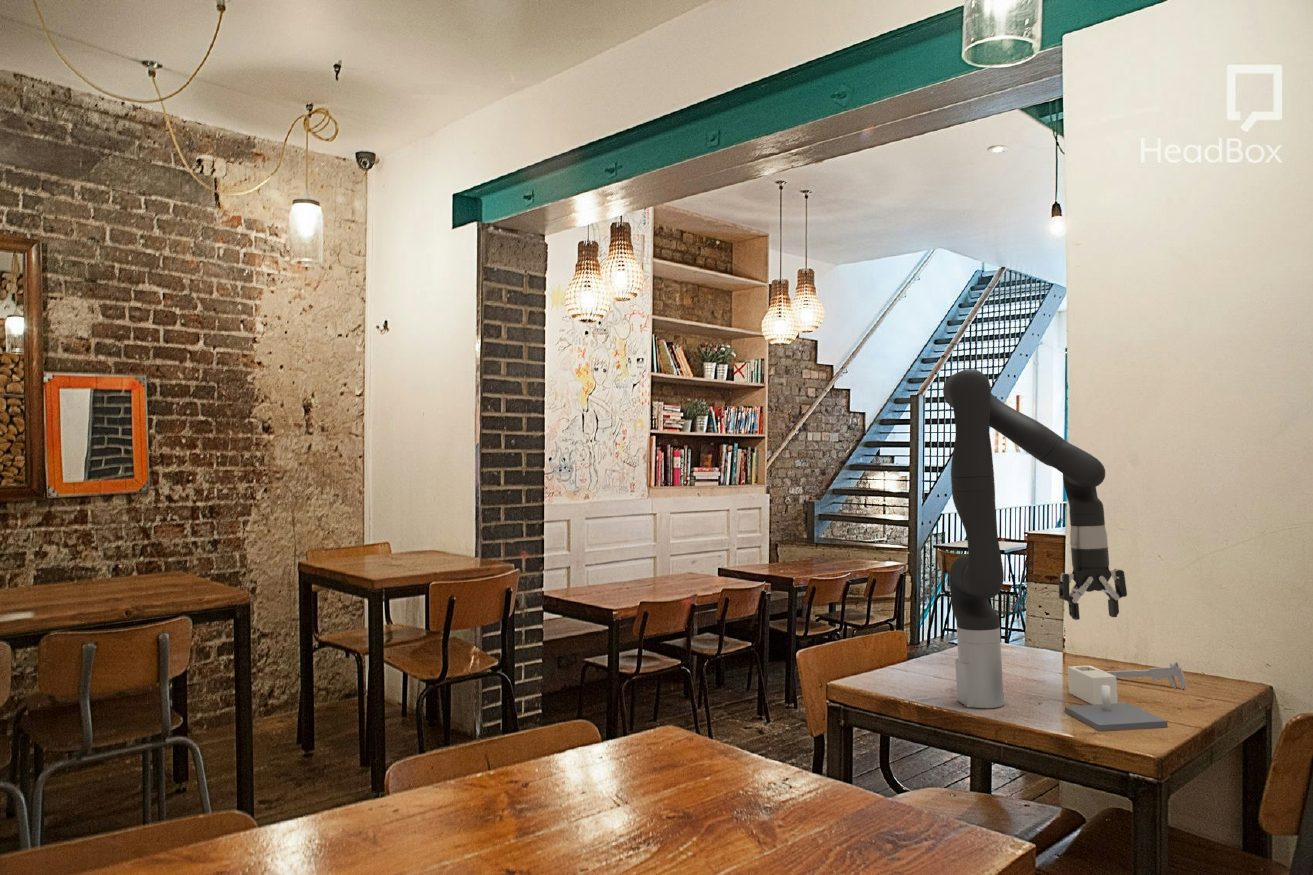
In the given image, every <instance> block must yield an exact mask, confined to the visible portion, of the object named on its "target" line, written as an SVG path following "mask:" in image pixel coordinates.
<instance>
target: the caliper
mask: <svg viewBox="0 0 1313 875" xmlns="http://www.w3.org/2000/svg"><path fill="white" fill-rule="evenodd" d="M1169 665H1170V666H1163V667H1162V666H1160V667H1159V666H1158V667H1151V668H1149V669H1137V670H1134V669H1130V670H1109V671H1108V670H1107V671H1105V670H1103V671H1104V672H1107V673H1109V674H1111V675H1114V676H1116V677H1117V678H1116V679H1118V678H1120V679H1121V678H1143V677H1144V678H1148V677H1151V680H1153V681H1155V680H1159V681H1160V680H1162V679H1165V678H1166V679H1167V681H1168V683H1169V685H1170V686H1171V688H1172V687H1177V688H1178V686H1177V683H1176V679H1175V676H1176V677H1177V681H1178V683H1179V686H1180V689H1181V690H1184V689H1186V678H1185V673H1184V670H1183V668H1182V666H1179V663H1178V662H1177V661H1176V662H1174V663H1173V661H1172V662H1170V663H1169Z"/></svg>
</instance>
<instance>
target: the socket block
mask: <svg viewBox="0 0 1313 875" xmlns="http://www.w3.org/2000/svg"><path fill="white" fill-rule="evenodd" d="M1104 671H1105V670H1102V669H1099V668H1097V667H1095V666H1092V665H1077V666H1076V665H1074V666H1067V677H1068V678H1067V679H1068V682H1067V683H1068V694H1070V695H1072V694H1073V695H1072V696H1075V697H1076V698H1078V699H1081V700H1083V701H1085V702H1086V703H1089V705H1097V704H1102V687H1101V686H1102V685H1108V686H1110V697H1111V704H1114V703H1119V700H1118V684H1117V683H1118V682H1117V679H1118V678H1116V676H1114V675H1111V674H1109V673H1107V672H1104Z"/></svg>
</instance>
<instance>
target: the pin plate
mask: <svg viewBox="0 0 1313 875" xmlns="http://www.w3.org/2000/svg"><path fill="white" fill-rule="evenodd" d="M1101 687H1102V704H1097V705H1092V704H1085V705H1084V704H1083V705H1068V706H1067V705H1065V706H1064V713H1066V714H1068V715H1069V716H1072V717H1073V718H1075V719H1076V720H1078V721H1080V722H1082V723H1084V724H1086V725H1087V726H1090V727H1091V728H1093V729H1095V730H1097V731H1098V732H1107V731H1109V732H1110V731H1125V730H1140V729H1141V730H1143V729H1157V728H1168V720H1166V719H1163V718H1162V717H1160V716H1157V715H1155V714H1153V713H1151V712H1149V711H1147V710H1144V709H1142V708H1140V707H1139V706H1136V705H1133V704H1132V703H1129V702H1118V703H1114V704H1111V697H1110V686H1108V685H1102V686H1101Z"/></svg>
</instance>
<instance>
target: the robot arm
mask: <svg viewBox="0 0 1313 875" xmlns="http://www.w3.org/2000/svg"><path fill="white" fill-rule="evenodd" d="M942 393H943V397H944V400H945V402H946V403H947V405H949V407H951V408H953V415H954V418H953V419H954V424H955V425H954V426H955V436H954V438H955V439H954V445H953V449H952V456H951V465H950V466H951V467H950V477H951V478H950V484H951V495H952V496H951V497H952V500H953V504H954V507H955V510H956V512H957V514H958V517H959V519H960V521H961V524H962V525H963V529H964V531H965V535H966V539H967V540H966V542H967V554H962V555H960V556H958V557H956V558H955V559H954V561H953V562H952V563H951V565H950V570H949V574H948V575H949V578H948V580H949V593H950V601H951V602H950V603H951V610H952V614H953V616H954V618H955V622H956V638H957V639H956V640H957V653H958V654H957V657H958V658H955V659H954V660H955V661H954V662H955V675H956V676H955V677H956V678H955V680H956V694H957V695H956V697H957V702H959V703H960V704H962V705H963V704H964V706H965V707H966V708H977V709H993V708H1001V707H1002V706H1004V705H1005V698H1004V697H1005V693H1004V680H1003V679H1004V677H1003V664H1002V663H1003V660H1002V659H1003V658H1002V646H1001V645H1002V644H1001V643H1002V642H1001V624H1000V616H999V614H998V613H997V612H996V610H994V609H993V607H992V606H991V604H990V601H989V600H990V599H993V598H995V597H996V596H997V595H998V594H999V593H1000V591H1001V590H1002V588H1003V584H1004V581H1005V580H1004V579H1005V578H1004V576H1005V575H1004V574H1005V573H1004V567H1003V560H1002V554H1001V548H1000V542H999V536H998V522H997V509H996V489H995V488H996V486H995V472H994V463H993V449H992V443H991V442H992V441H991V435H990V432H991V431H990V428H991V429H993V430H995V431H997V432H998V433H999V434H1001V435H1002V436H1004V437H1005V438H1007V439H1008V440H1009V441H1011V442H1012V443H1014V444H1015V445H1017V447H1019V448H1020V449H1022V450H1023V451H1024V452H1026V453H1027V454H1029V455H1030V456H1032V457H1033V458H1035V459H1036V460H1037V461H1039V462H1041V463H1042V464H1044V465H1046V466H1048V467H1051V468H1054V469H1055V470H1057V471H1059V472H1060V473H1061V474H1062V481H1063V486H1064V489H1065V490H1064V491H1065V495H1066V498H1067V502H1068V506H1069V524H1070V532H1069V534H1070V535H1069V539H1070V541H1069V543H1070V544H1069V545H1070V553H1071V566H1072V572H1071V573H1064V572H1059V574H1058V598H1059V599H1060V600H1063V601H1065V602H1067V603H1068V615H1069V616H1070V617H1071V618H1072V620H1075V621H1078V620H1081V617H1080V608H1079V606H1080V605H1079V602H1078V601H1079V600H1080V599H1081V597H1082V596H1084V594H1085V593H1086V592H1087V593H1088V592H1089V593H1090V592H1095V591H1097V592H1104V594H1105V595H1106V596H1107V597H1108V598H1109V599H1107V607H1108V609H1107V610H1108V615H1109V617H1111V618H1117V617H1118V615H1119V614H1120V607H1119V600H1120V599H1121V598H1126V597H1127V596H1128V591H1127V584H1126V577H1125V571H1124V570H1122V569H1120V568H1119V569H1117V568H1114V569H1113V570H1110V568H1109V566H1110V557H1109V545H1108V543H1109V542H1108V533H1107V529H1106V521H1105V510H1104V509H1105V508H1104V504H1103V502H1102V501H1101V500H1100V498H1099V497H1098V492H1097V487H1099V486H1100V485H1101V484H1102V483H1103V482H1104V481H1105V478H1106V469H1105V467H1104V466H1105V465H1104V464H1103V463H1102V462H1101V461H1100V460H1099V459H1098V458H1096V457H1095V456H1093V455H1092V454H1091V453H1089V452H1087V451H1085V450H1083V449H1081V448H1079V447H1078V446H1076V445H1074V444H1072V443H1070V442H1068V440H1066V439H1064V438H1063V437H1061V435H1059V434H1057V433H1056V432H1055V431H1053V430H1051V429H1050V428H1049V427H1047V426H1045V425H1044V424H1043V423H1041V422H1039V421H1038V420H1037V419H1034V418H1032V417H1031V416H1028V415H1026V414H1025V413H1023V412H1020V411H1018V410H1017V409H1015V408H1013V407H1011V406H1009V405H1007V403H1005V402H1003V401H1001V400H1000V399H998V397H996V396H995V395H994V394H993V393H992V386H991V383H990V380H989V379H988V377H987V376H986V374H984V372H982V371H980V370H978V369H975V368H968V369H967V368H966V369H963V370H960V371H958V372H955V373H953V374H952V375H950V376H949V377H948V378H947V379H946V380H945V382H944V384H943V386H942ZM1111 578H1112V580H1113V582H1114V588H1113V586H1112V585H1111V584H1110V583H1109V581H1110V579H1111ZM1072 580H1073V581H1074V584H1073V586H1072V587H1071V589H1070V584H1071V583H1072Z"/></svg>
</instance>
